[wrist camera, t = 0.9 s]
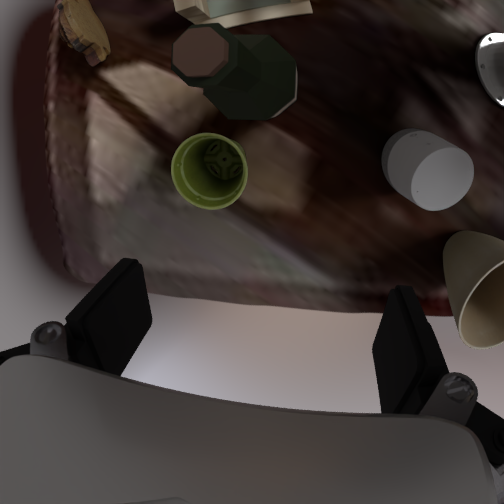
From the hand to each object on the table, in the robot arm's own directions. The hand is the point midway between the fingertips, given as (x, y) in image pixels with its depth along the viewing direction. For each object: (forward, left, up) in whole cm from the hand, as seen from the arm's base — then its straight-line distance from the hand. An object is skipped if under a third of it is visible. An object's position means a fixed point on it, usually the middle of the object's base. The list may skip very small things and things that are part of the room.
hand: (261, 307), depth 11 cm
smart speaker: (-17, +2, -35) cm, 38 cm away
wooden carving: (+25, -28, -35) cm, 51 cm away
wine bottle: (+1, -10, -35) cm, 36 cm away
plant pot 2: (-27, +18, -35) cm, 47 cm away
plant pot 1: (+9, -1, -35) cm, 36 cm away
